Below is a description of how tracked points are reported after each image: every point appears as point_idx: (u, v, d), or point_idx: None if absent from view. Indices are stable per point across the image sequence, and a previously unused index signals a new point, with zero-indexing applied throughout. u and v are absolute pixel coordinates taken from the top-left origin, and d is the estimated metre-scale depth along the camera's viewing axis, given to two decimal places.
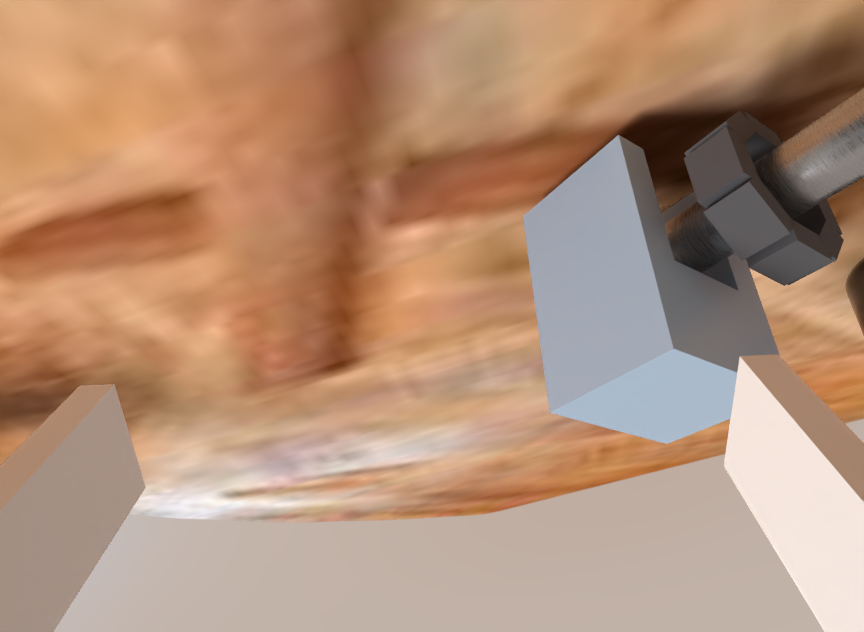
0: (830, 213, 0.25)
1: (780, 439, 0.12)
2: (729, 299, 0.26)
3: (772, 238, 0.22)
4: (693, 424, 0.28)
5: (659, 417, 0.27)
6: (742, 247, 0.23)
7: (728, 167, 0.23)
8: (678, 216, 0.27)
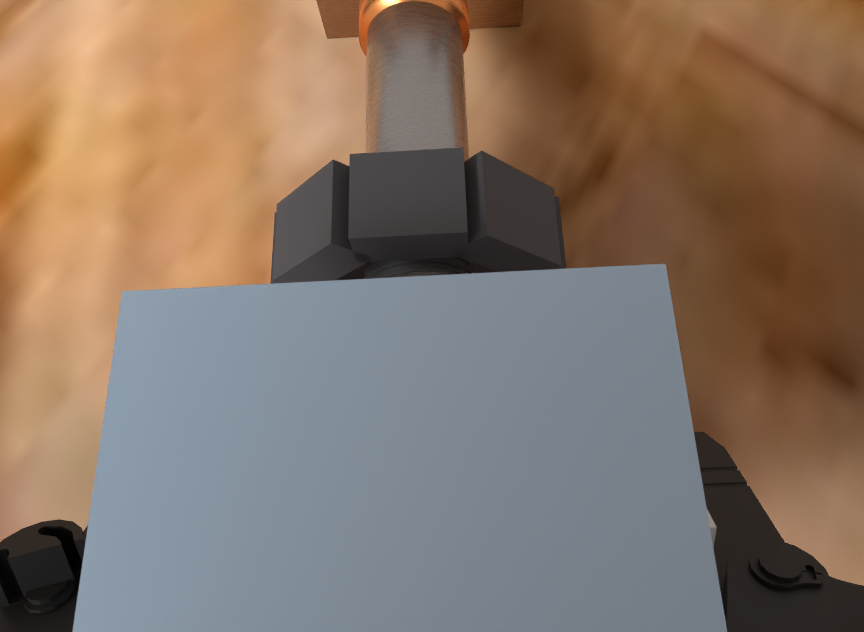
0: None
1: None
2: None
3: (327, 186, 0.13)
4: (641, 608, 0.07)
5: None
6: (319, 236, 0.13)
7: None
8: None
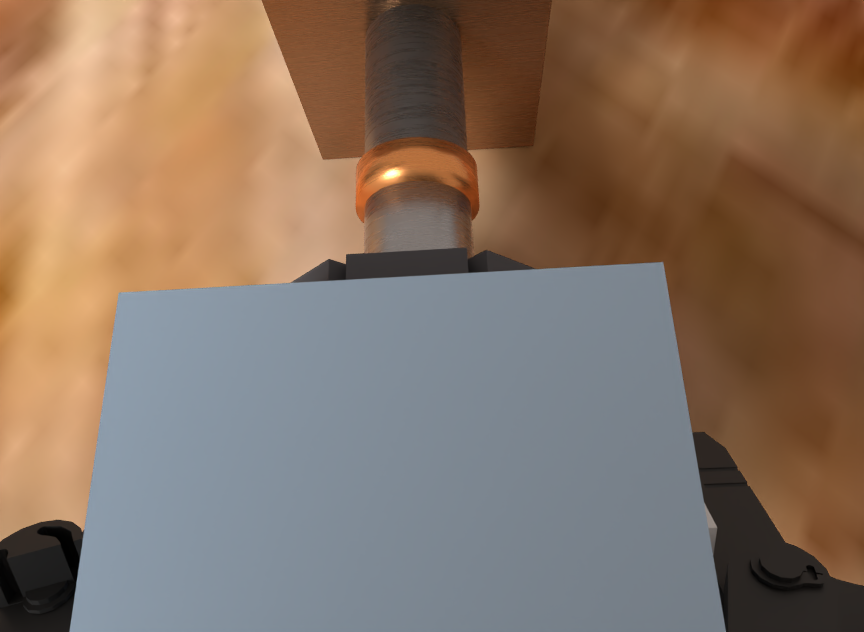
0: None
1: None
2: None
3: None
4: (638, 608, 0.07)
5: None
6: None
7: None
8: None
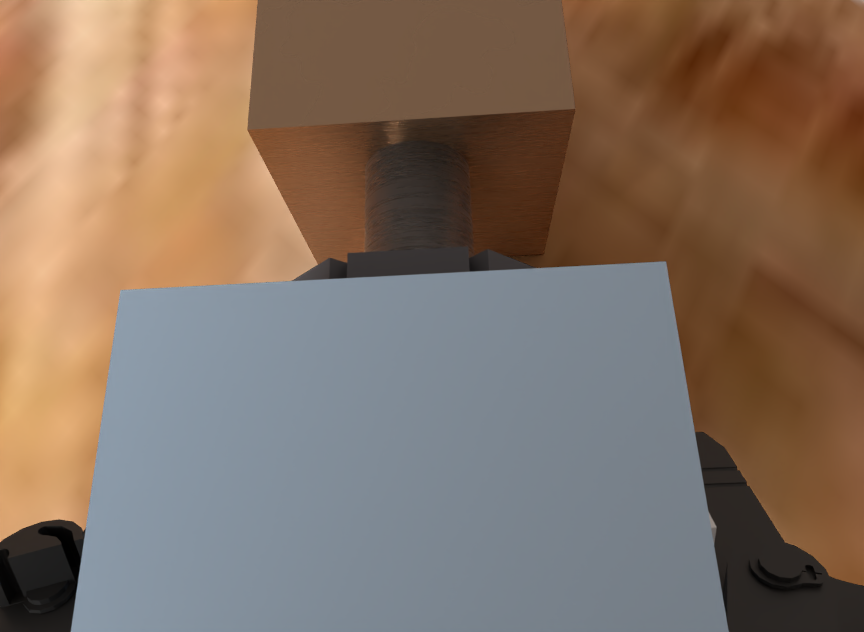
0: None
1: None
2: None
3: None
4: (642, 607, 0.07)
5: None
6: None
7: None
8: None
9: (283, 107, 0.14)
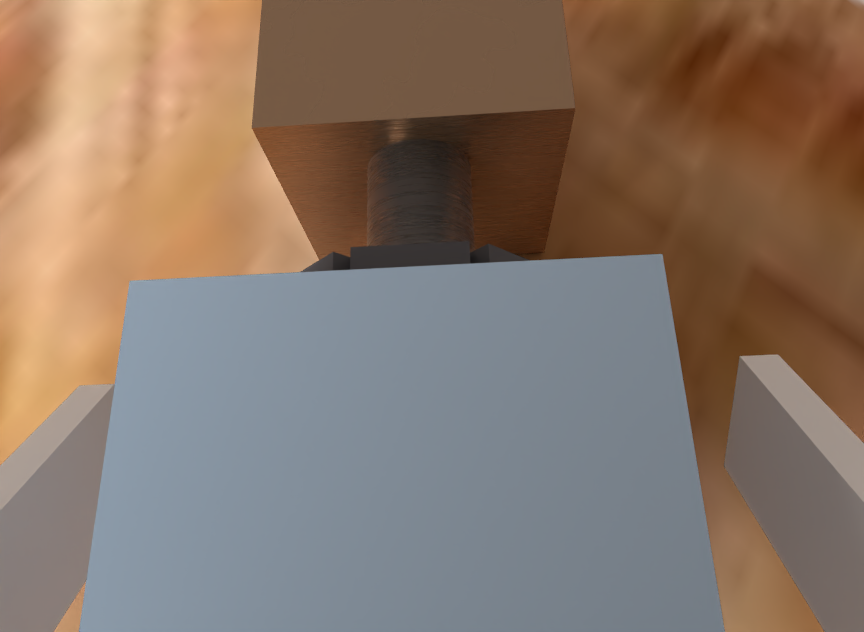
0: None
1: (780, 440, 0.12)
2: None
3: None
4: (637, 588, 0.07)
5: (466, 613, 0.07)
6: None
7: None
8: None
9: (287, 105, 0.15)
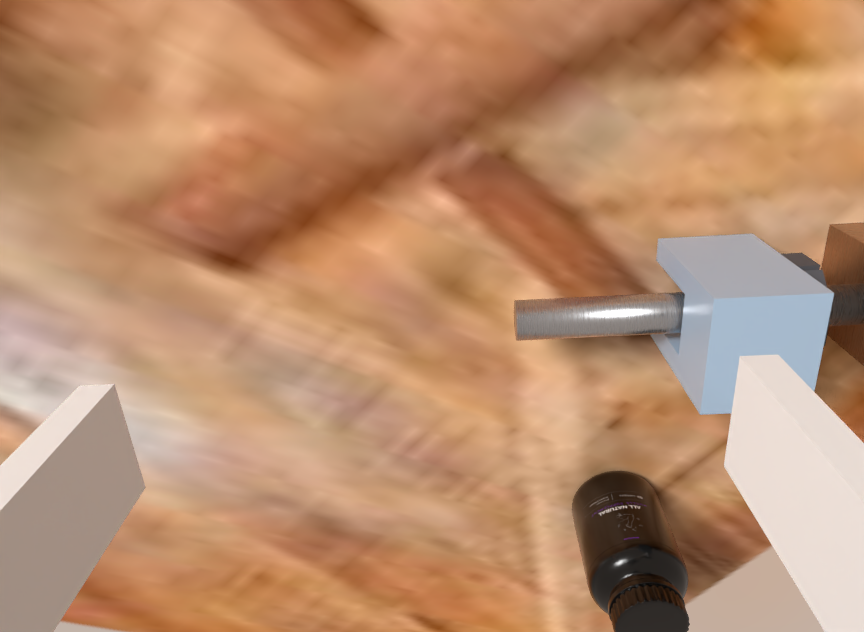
0: None
1: (779, 439, 0.12)
2: None
3: None
4: None
5: None
6: None
7: (808, 262, 0.39)
8: (621, 295, 0.41)
9: None
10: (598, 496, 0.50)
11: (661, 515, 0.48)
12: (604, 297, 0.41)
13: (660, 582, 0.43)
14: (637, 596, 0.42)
